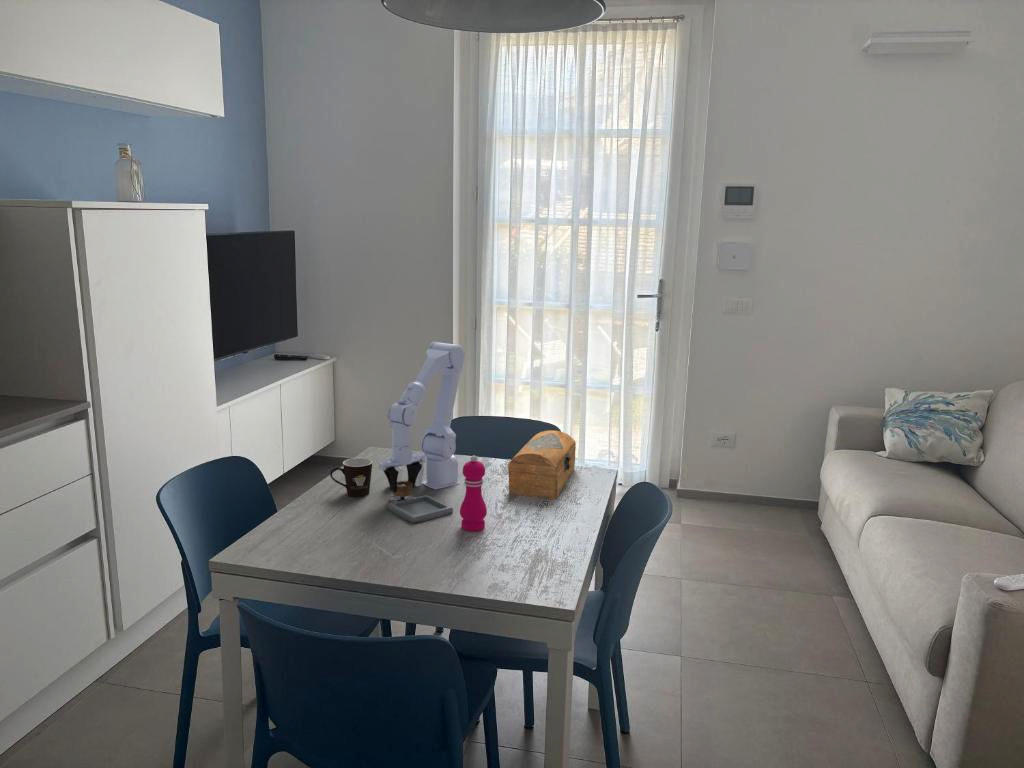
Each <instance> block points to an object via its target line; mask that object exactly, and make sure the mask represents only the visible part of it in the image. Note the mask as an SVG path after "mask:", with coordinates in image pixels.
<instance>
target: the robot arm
mask: <svg viewBox="0 0 1024 768" xmlns="http://www.w3.org/2000/svg"><path fill="white" fill-rule="evenodd" d="M425 354H426V355H425V356H426V360H425V361H424V363H423V366H422V368H421V369H420V370H419V373H418V375H417V377H416V379H415V381H413V382H412V381H411V382H409V384H407V387H406V388H405V390H404V391H403V393H402V394H401V396H400V398H399V399H398V400H397V402H395V403H393V404H391V406H390V407H389V409H388V411H387V414H386V415H387V419H388V421H389V423H390V425H389V427H390V428H391V441H392V442H391V444H392V445H391V446H392V447H391V451H392V454H391V456H392V458H390V459H387V460H384V461H381V462H378V470H380V471H382V472H383V473H384V475H385V476H386V480H387V482H388V481H389V485H390V487H389V488H390V491H391V492H392V493H393V492H394V493H395V492H397V478H398V473H399V472H398V471H397V470H396V469H395V467H399V466H403V467H404V466H406V471H407V481H410V482H412V483H413V489H414V488H415V487H416V486H415V482H416V479H417V476H418V474H419V472H420V470H421V468H422V465H421V464H420V462H423V463H426V466H425V467H426V471H425V473H426V478H425V479H426V480H422V485H424V486H426V487H428V488H429V489H432V490H435V491H436V490H440V489H444V488H447V487H452V486H457V485H460V482H459V462H458V459H457V457H456V456H455V455H454V454H455V453H456V448H457V445H456V443H457V442H456V438H457V434H456V433H455V431H453V429H452V428H451V424H452V420H453V419H452V418H453V413H454V408H455V404H456V398H457V392H458V388H459V382H460V377H461V373H462V370H463V365H464V361H465V356H466V355H465V352H464V349H463V346H462V345H460V344H458V343H457V344H455V343H454V344H452V343H445V342H438V341H433V342H431V343H430V345H429V346H428V349H427V350H426V353H425ZM438 371H440V373H441V375H442V376H441V382H440V386H439V391H438V396H437V401H436V407H435V413H434V417H433V421H432V424H431V425H430V426H428V427H426V428H425V430H424V434H423V437H422V438H421V440H420V450H421V452H422V453H423V454H422V453H419V454H420V455H419V454H413V423H414V422H415V421H416V420H417V417H418V416H417V414H418V411H419V408H418V407H419V406H420V404H421V403H422V401H423V400H424V398H425V396H426V394H427V389H426V387H427V386H428V385H429V383H430V382H431V380H432V379H433V378H434V377H435V375H436V374H437V373H438Z"/></svg>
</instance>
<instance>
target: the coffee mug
mask: <svg viewBox="0 0 1024 768" xmlns="http://www.w3.org/2000/svg"><path fill="white" fill-rule="evenodd" d="M342 466H343V468H341V467H335V468H333V469H332V470H330V472H329V473H330V474H329V475H330V478H331V479H332V480H333V481H334V482H335V483H337V484H338V485H340V486H342V487H344V488H345V490H346V493H347V494H346V495H347V496H348V497H350V498H365V497H366V496H369V495H370V490H371V489H370V488H371V479H372V472H373V471H372V470H373V460H372V459H369V458H367V457H364V458H363V457H356V458H355V457H354V458H353V457H352V458H348V459H345V460H344V461H342ZM337 470H338V471H340V472H341V473H342V474H343V475H344V481H345V484H344V483H343V482H341V481H338V480H337V479H335V478H334V477H333V473H334V471H337Z"/></svg>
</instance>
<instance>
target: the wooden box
mask: <svg viewBox="0 0 1024 768" xmlns="http://www.w3.org/2000/svg"><path fill="white" fill-rule="evenodd" d="M576 447H577V444H576V441H575V439H574V438H573V437H572V436H571V435H569V434H568V433H566V432H564V431H560V430H553V429H552V430H544V431H540V432H539V433H536V434H535V435H534V436H533V437H531V439H529V441H528V442H527V443H526V444H525V445H524V446H523V447H522V448H520V450H519V451H518V452H517V453H516V454H515V455H514V457H512V459H511V460H510V461H508V464H507V465H508V466H507V470H508V494H510V495H518V496H519V495H520V496H526V497H534V496H535V497H534V498H542V499H543V498H544V499H551V498H552V499H553V500H557V499H558V497H559V496H560V494H561V492H562V490H563V489H562V488H564V487H565V485H566V483H567V482H568V480H569V478H570V477H571V475H572V474H573V472H574V471H575V467H576V449H577V448H576ZM571 473H572V474H571ZM569 476H570V477H569ZM567 479H568V480H567ZM566 481H567V482H566ZM564 484H565V485H564ZM563 486H564V487H563ZM560 491H561V492H560ZM559 493H560V494H559ZM558 495H559V496H558ZM552 499H551V500H552Z"/></svg>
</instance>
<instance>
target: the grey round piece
mask: <svg viewBox="0 0 1024 768" xmlns="http://www.w3.org/2000/svg"><path fill="white" fill-rule="evenodd" d="M404 485H405V484H402V486H404ZM415 497H416V496H415V495H413V494H411V495H409V496H405V497H400V496H395V495H391V496H390V497H389V498H388V502H389V503H394V502H398V501H403V500H407V499H411V498H415Z"/></svg>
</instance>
